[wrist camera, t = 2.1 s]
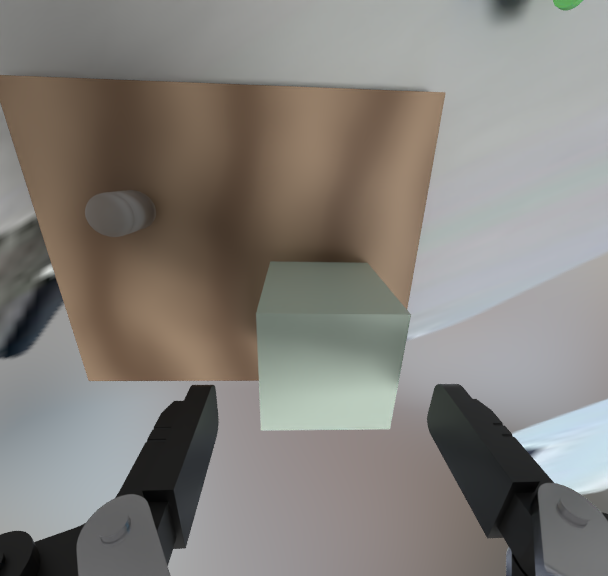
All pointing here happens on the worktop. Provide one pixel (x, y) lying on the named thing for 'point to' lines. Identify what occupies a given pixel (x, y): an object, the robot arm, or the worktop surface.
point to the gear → (566, 4)
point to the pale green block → (328, 347)
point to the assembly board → (211, 205)
